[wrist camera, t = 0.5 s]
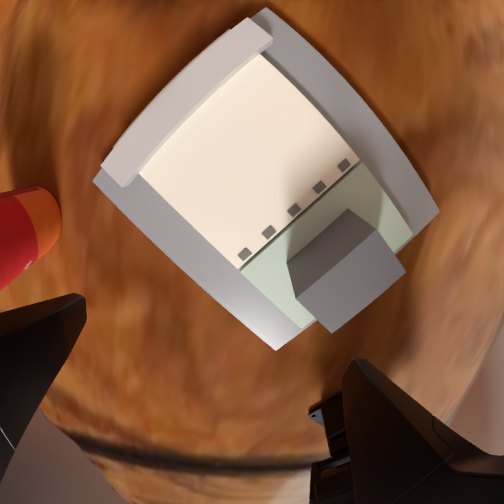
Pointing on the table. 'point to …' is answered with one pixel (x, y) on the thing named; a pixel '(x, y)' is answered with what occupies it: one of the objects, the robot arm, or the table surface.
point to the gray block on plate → (333, 253)
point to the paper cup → (26, 229)
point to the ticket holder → (250, 160)
